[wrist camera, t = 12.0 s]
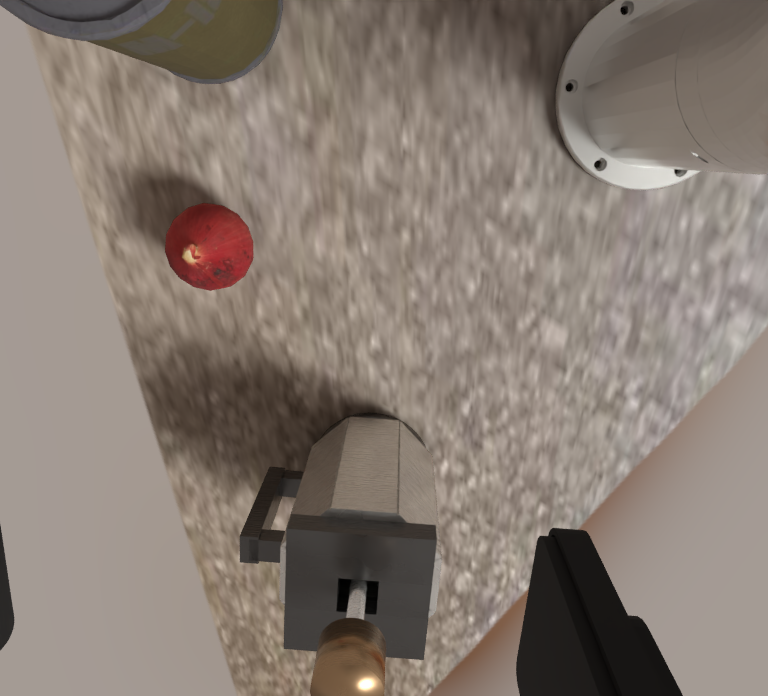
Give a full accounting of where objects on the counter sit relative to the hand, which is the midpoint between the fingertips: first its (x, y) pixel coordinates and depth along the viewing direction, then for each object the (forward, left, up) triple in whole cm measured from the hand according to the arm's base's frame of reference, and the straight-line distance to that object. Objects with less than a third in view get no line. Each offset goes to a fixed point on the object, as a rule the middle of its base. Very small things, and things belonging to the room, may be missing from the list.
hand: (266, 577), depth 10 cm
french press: (+1, +18, -36) cm, 41 cm away
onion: (+11, 0, -36) cm, 38 cm away
